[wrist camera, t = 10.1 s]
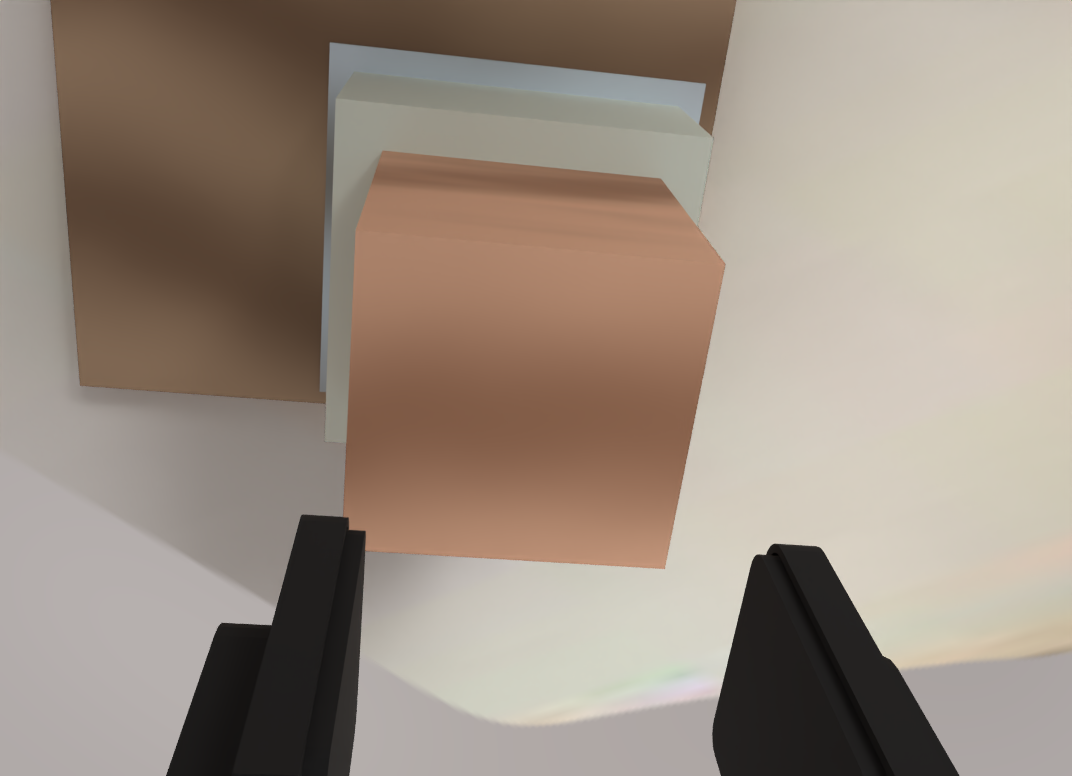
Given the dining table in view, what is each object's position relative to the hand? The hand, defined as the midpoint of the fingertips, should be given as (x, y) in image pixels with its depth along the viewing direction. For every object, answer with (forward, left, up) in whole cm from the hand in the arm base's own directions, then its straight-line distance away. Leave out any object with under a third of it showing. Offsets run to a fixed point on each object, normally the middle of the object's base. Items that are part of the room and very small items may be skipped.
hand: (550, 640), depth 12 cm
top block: (0, 0, -12) cm, 12 cm away
